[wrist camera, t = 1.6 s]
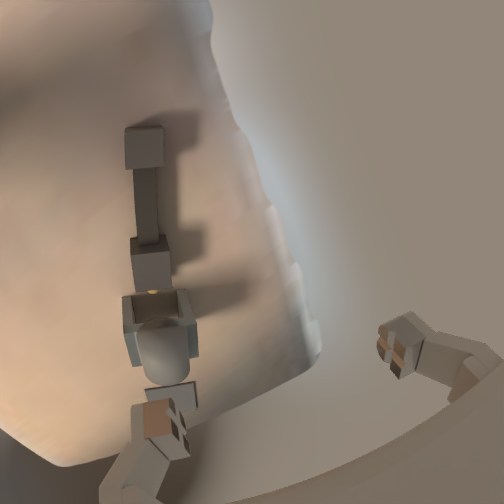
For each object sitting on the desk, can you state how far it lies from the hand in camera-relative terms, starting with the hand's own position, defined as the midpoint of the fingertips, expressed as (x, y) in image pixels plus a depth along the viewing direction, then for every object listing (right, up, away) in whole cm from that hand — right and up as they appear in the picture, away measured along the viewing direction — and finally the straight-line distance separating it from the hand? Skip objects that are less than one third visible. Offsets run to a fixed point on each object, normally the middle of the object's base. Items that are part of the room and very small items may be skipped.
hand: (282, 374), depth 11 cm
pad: (-16, -23, +42) cm, 51 cm away
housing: (-15, -4, +32) cm, 35 cm away
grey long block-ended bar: (-14, +9, +25) cm, 30 cm away
